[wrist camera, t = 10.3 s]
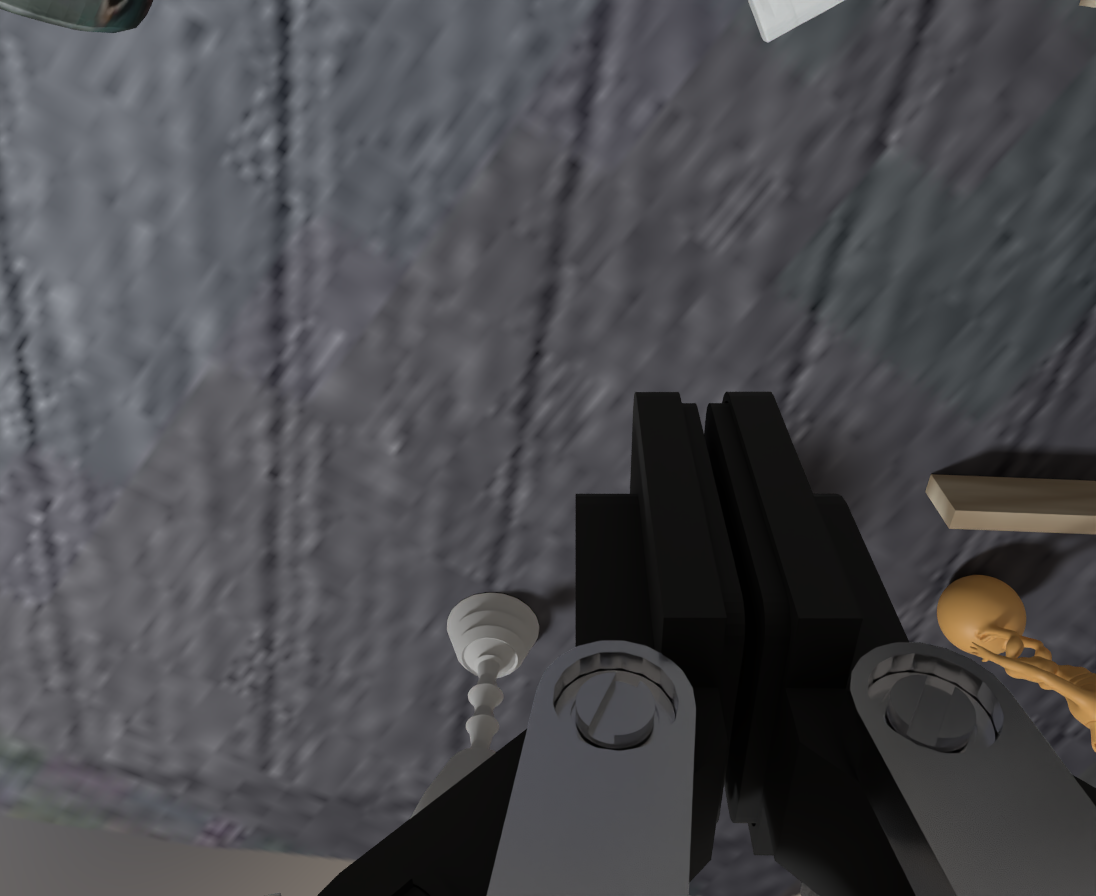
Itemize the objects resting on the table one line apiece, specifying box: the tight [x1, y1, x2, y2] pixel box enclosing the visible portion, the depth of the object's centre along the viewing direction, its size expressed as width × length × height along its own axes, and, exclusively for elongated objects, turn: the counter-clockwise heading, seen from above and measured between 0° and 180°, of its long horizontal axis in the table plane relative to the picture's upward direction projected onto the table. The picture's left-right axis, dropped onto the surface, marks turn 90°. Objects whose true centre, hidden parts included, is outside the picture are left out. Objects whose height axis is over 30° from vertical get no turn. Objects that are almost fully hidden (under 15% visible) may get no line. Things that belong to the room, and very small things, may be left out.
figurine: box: [937, 575, 1096, 752], centre depth 39 cm, size 8×6×12 cm
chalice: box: [410, 593, 539, 819], centre depth 39 cm, size 7×7×18 cm
